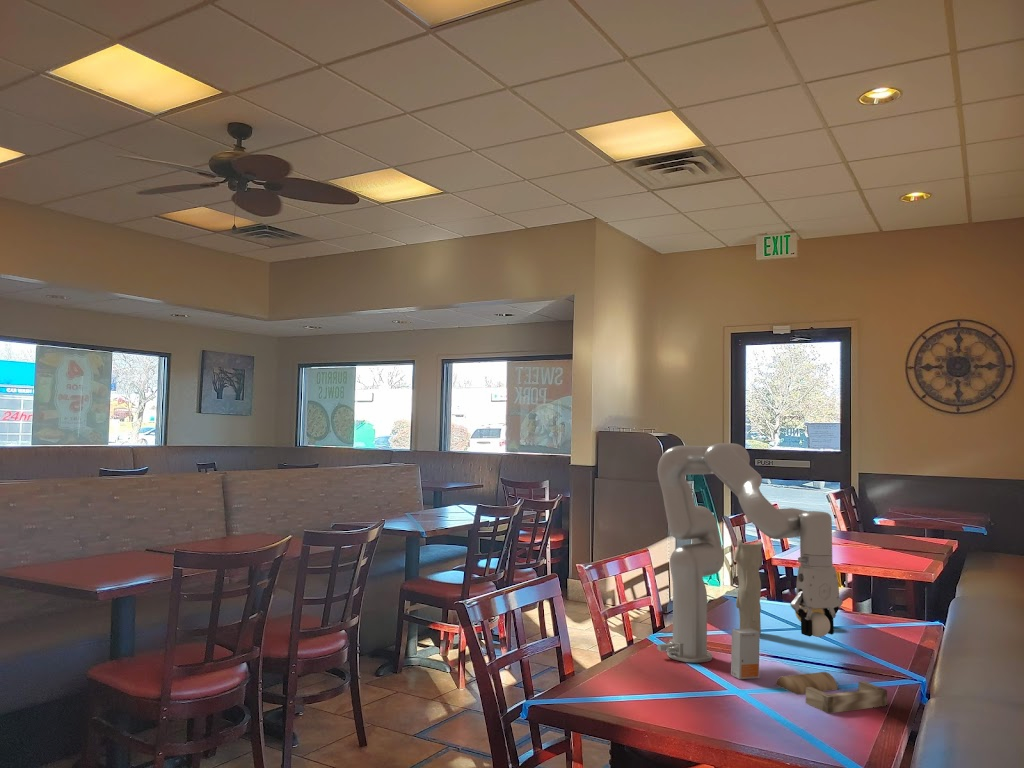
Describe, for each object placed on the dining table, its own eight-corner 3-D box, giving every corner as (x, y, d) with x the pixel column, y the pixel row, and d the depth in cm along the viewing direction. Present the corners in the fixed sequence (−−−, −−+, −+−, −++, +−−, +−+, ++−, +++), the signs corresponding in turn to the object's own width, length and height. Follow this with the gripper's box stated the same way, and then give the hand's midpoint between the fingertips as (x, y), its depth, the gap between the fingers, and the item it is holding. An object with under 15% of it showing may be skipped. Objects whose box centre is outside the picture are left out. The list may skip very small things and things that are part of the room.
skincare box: (739, 680, 201) (739, 632, 202) (730, 675, 205) (730, 628, 206) (760, 678, 203) (760, 631, 204) (750, 673, 207) (751, 627, 208)
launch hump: (796, 715, 190) (796, 681, 191) (775, 704, 198) (775, 672, 198) (838, 709, 195) (838, 677, 195) (816, 699, 202) (816, 668, 203)
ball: (816, 640, 190) (816, 615, 191) (799, 634, 196) (799, 610, 196) (835, 638, 192) (835, 614, 193) (818, 633, 198) (818, 609, 198)
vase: (732, 634, 248) (732, 539, 250) (738, 629, 256) (739, 536, 258) (759, 638, 244) (759, 541, 246) (765, 632, 251) (765, 539, 253)
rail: (827, 713, 178) (827, 697, 178) (805, 702, 184) (805, 687, 185) (887, 705, 184) (887, 690, 184) (863, 696, 191) (863, 681, 191)
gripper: (798, 564, 189) (799, 640, 188) (854, 562, 195) (855, 635, 194) (778, 560, 196) (779, 633, 195) (832, 557, 202) (833, 628, 201)
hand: (817, 633), depth 194 cm, fingers closed on ball, 6 cm apart
